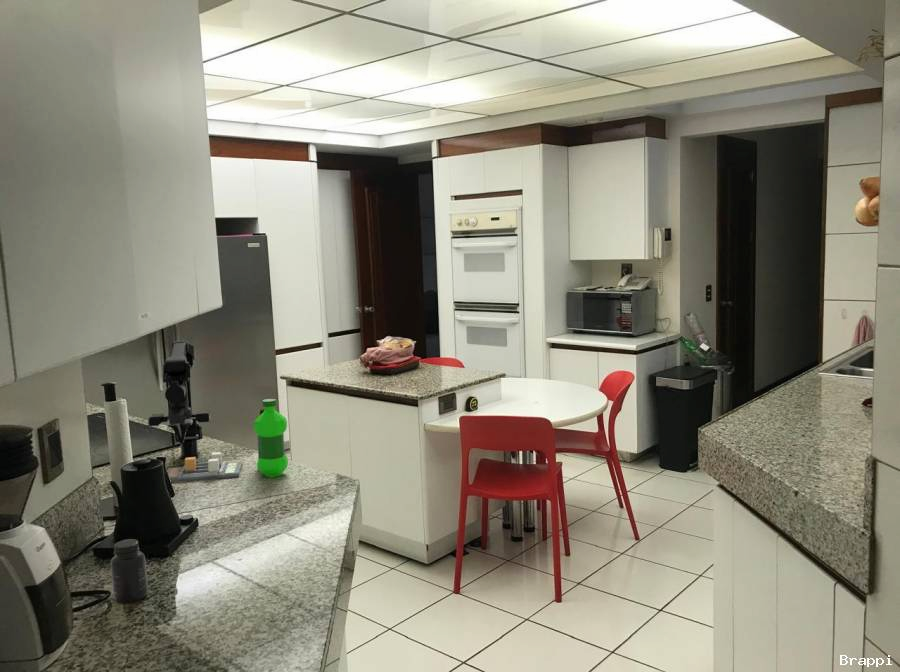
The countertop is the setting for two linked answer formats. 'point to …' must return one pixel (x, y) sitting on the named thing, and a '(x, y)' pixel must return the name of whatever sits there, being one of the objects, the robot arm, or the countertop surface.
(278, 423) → the plastic bottle
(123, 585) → the supplement bottle
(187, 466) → the block
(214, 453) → the block
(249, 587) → the countertop surface
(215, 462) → the block
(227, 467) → the panel
